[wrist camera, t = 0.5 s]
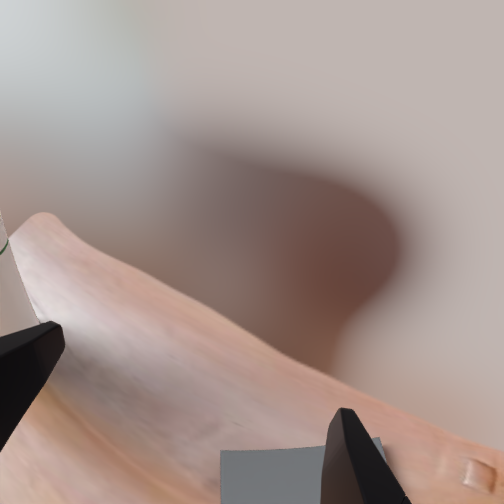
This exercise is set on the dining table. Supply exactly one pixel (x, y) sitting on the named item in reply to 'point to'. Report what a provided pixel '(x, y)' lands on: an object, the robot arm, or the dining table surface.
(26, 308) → the cylindrical container
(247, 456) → the slate mat
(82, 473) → the dining table surface
